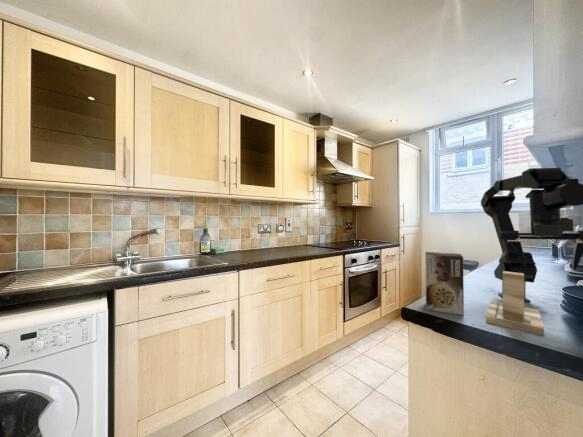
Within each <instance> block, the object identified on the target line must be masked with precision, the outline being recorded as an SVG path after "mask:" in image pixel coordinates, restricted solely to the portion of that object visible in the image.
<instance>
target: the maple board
mask: <svg viewBox="0 0 583 437" xmlns="http://www.w3.org/2000/svg"><path fill="white" fill-rule="evenodd" d="M488 305H489V306H488V309H487V312H486V315H485V321H486V323H490V324H493V325H497V326H502V327H505V328H510V329H514V330H517V331H518V330H519V331H522V332H527V333H530V334H535V335H536V334H537V335H540V336H543V337H545V328H544V324H543V321H542V320H543V319H542V318H541V314H540V310H539V309H536V308H534V309H533V308H530V307H524V322H523V323H520V322H516V321H511V320H506V319H504V318H503V302H497V301H492V300H490V301H489V304H488Z"/></svg>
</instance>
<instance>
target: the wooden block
mask: <svg viewBox="0 0 583 437" xmlns="http://www.w3.org/2000/svg"><path fill="white" fill-rule="evenodd" d="M502 303H503V318H504V319H506V320H511V321H516V322H520V323H523V322H524V308H525V302H524V273H515V272H507V271H503V297H502Z"/></svg>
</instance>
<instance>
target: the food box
mask: <svg viewBox="0 0 583 437" xmlns="http://www.w3.org/2000/svg"><path fill="white" fill-rule="evenodd" d="M464 286H465V284H464V256H463V255H462V254H461V253H451V252H450V253H449V252H433V251H425V310H429V311H435V312H439V313H440V312H441V313H447V314H454V315H459V316H464V315H465V312H464V311H465V304H464V302H465V296H464V294H465V292H464V291H465V290H464Z"/></svg>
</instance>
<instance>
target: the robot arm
mask: <svg viewBox="0 0 583 437" xmlns="http://www.w3.org/2000/svg"><path fill="white" fill-rule="evenodd" d="M555 167H556V168H546V167H531V168H528V169H526V170H523V171H522V172H521V174H520V175H515V176H513V177H512V176H511V177H509V178H504V179H497V180H496V181H495V182H494V184H493V186H492V187H490V188H489V189H488V190H486V191H485V192H484V194H483V196H482V198H481V200H480V207H482V210H483V212H484V214H486V215H487V216H489V217H490V218H491V219H492V223H493V225H494V229H495V232H496V235H497V236H496V237H497V238H498V242H499V244H500V249H501V252H502V253H501V255H500V257H499V260H498V263H499V264H498V265H497V266H496V267H495V269H494V271H493V272H494V274H493V275H494V278H495V279H498V280H500V281H501V287H502V288H501V292H498V293H497V295H498V296H500V297H501V298H503V271H507V272H515V273H524V303H525V302H526V303H531V302H532V301H531V300H530V299H528V298H527V297H526V294H527V292H526V291H527V290H526V286H527V285H526V283H534V282H535V280H536V276H537V272H538V268H537V265H536V262H535V261H534V258H533V255H532V253H531V252H528V251H527V252H526V251H524V250H523V246H522V241H520V240H556V241H557V240H559V241H561V240H562V241H563V240H564V241H575V243H573V251H572V252H573V253H572V254H573V255H572V263H571V264H572V270H573V271H576V270H577V269H578V266H579V264H580V261H581V260H582V257H583V230H577V231H575V233H573V232H574V219H573V217H562V216H561V209H567V208H572V207H578V206H583V184H582V183H580V182H579V178H570V177H569V176H568V175H567V174H566V173H565V172H564V171H563V170H562V168H561V167H560V166H555ZM518 189H519V190H520V189H531V190H530V191H529V192H528V193H527V194H526V195H525V197H524V198H525V199H529V214H530V215H529V216H530V232H519V230H515V227H514V225H513V221H512V219H511V217H510V212H511V210H512V207H513V203H514V201H515V200H516V195H515V190H518ZM503 191H509V193H508V194H499V192H503Z"/></svg>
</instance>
